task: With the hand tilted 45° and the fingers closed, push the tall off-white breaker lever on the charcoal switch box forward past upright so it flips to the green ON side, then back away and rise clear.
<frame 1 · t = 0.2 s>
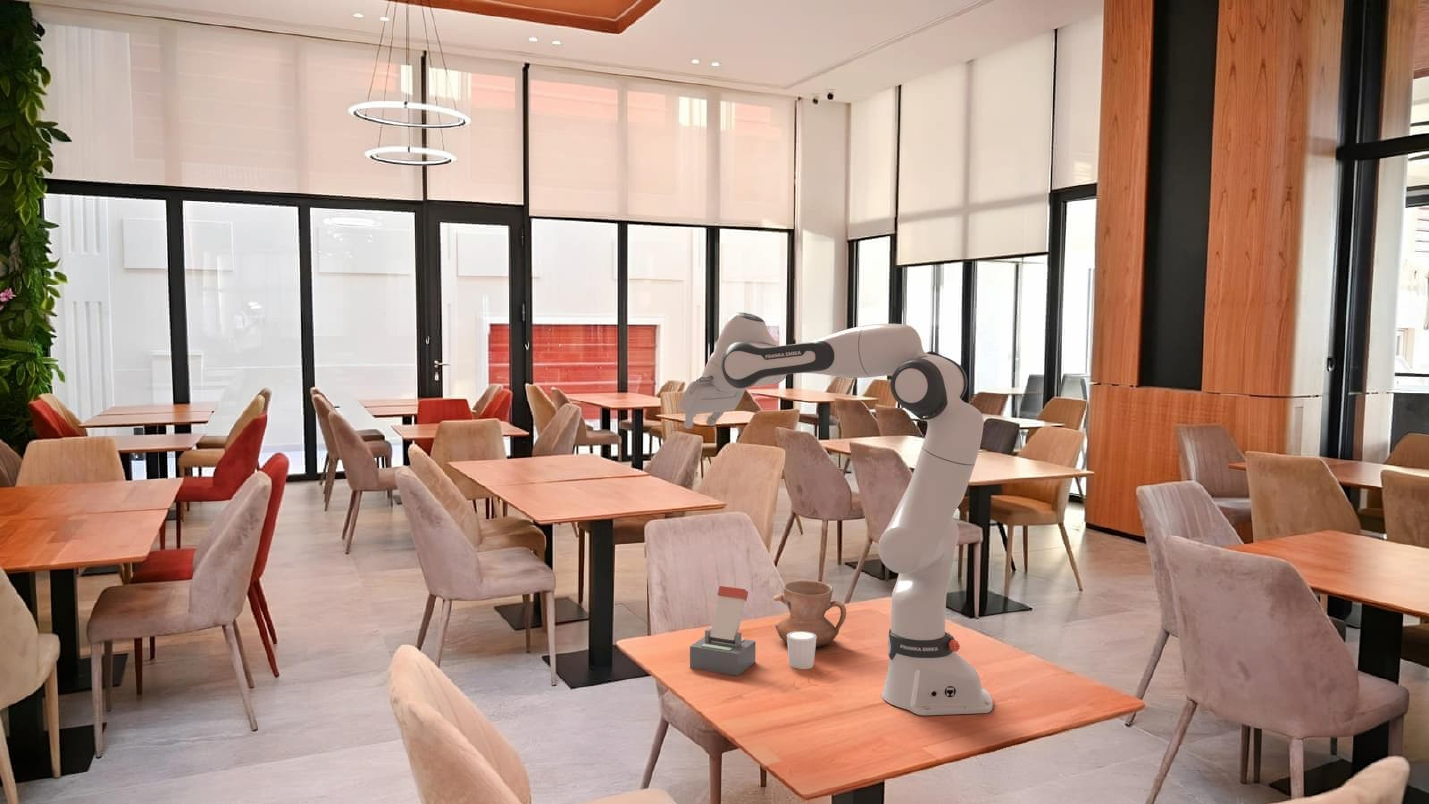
hand: (698, 426, 229), 54 cm above the table, tool tilted 30°, fingers open, 8 cm apart
shot glass: (801, 665, 222), on the table
switch box: (722, 664, 221), on the table
ceramic jug: (809, 643, 237), on the table
breaker lever: (728, 615, 223), point 11 cm above the table, hinge at -30.0°
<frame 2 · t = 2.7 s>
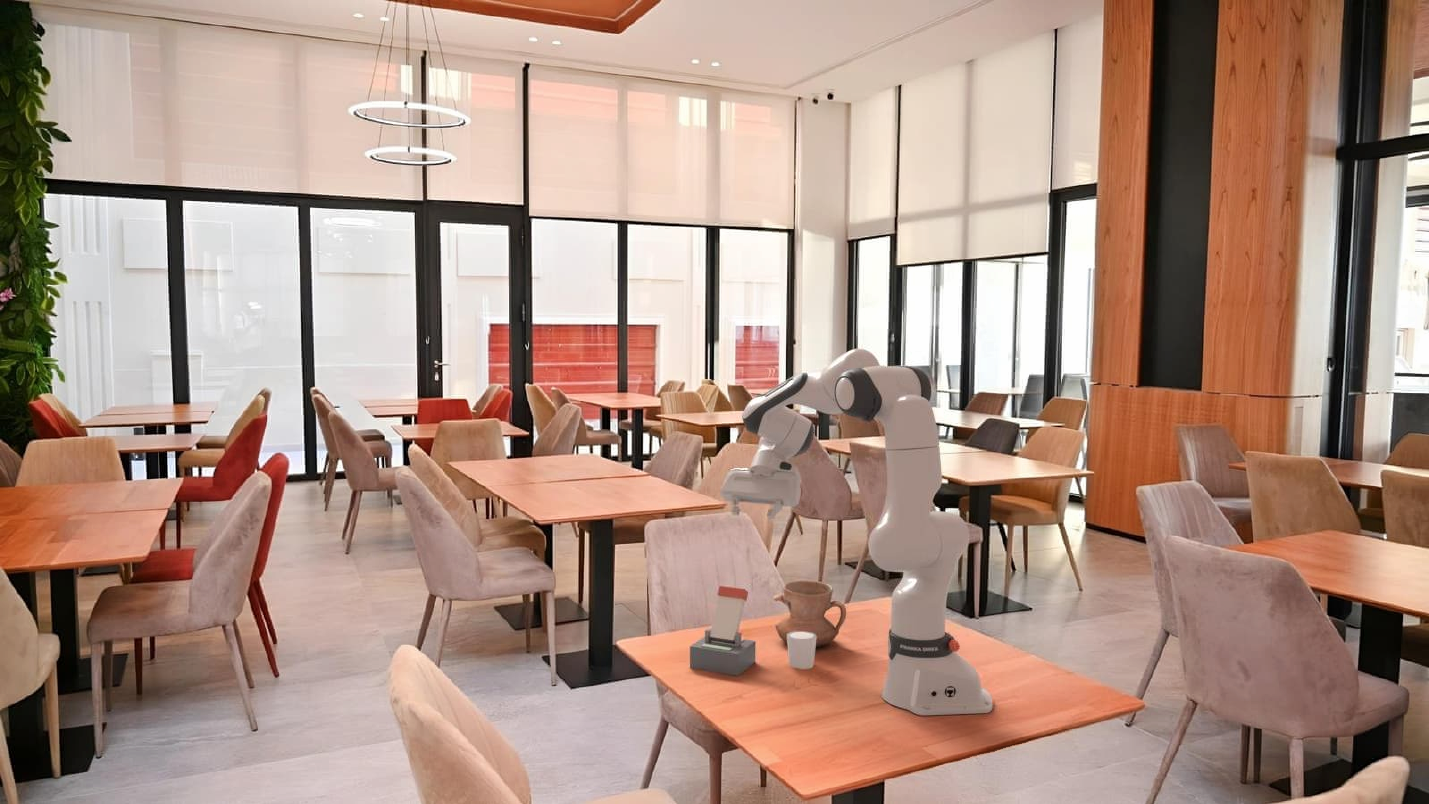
hand: (752, 515, 236), 32 cm above the table, tool tilted 45°, fingers open, 8 cm apart
nothing on the table moved.
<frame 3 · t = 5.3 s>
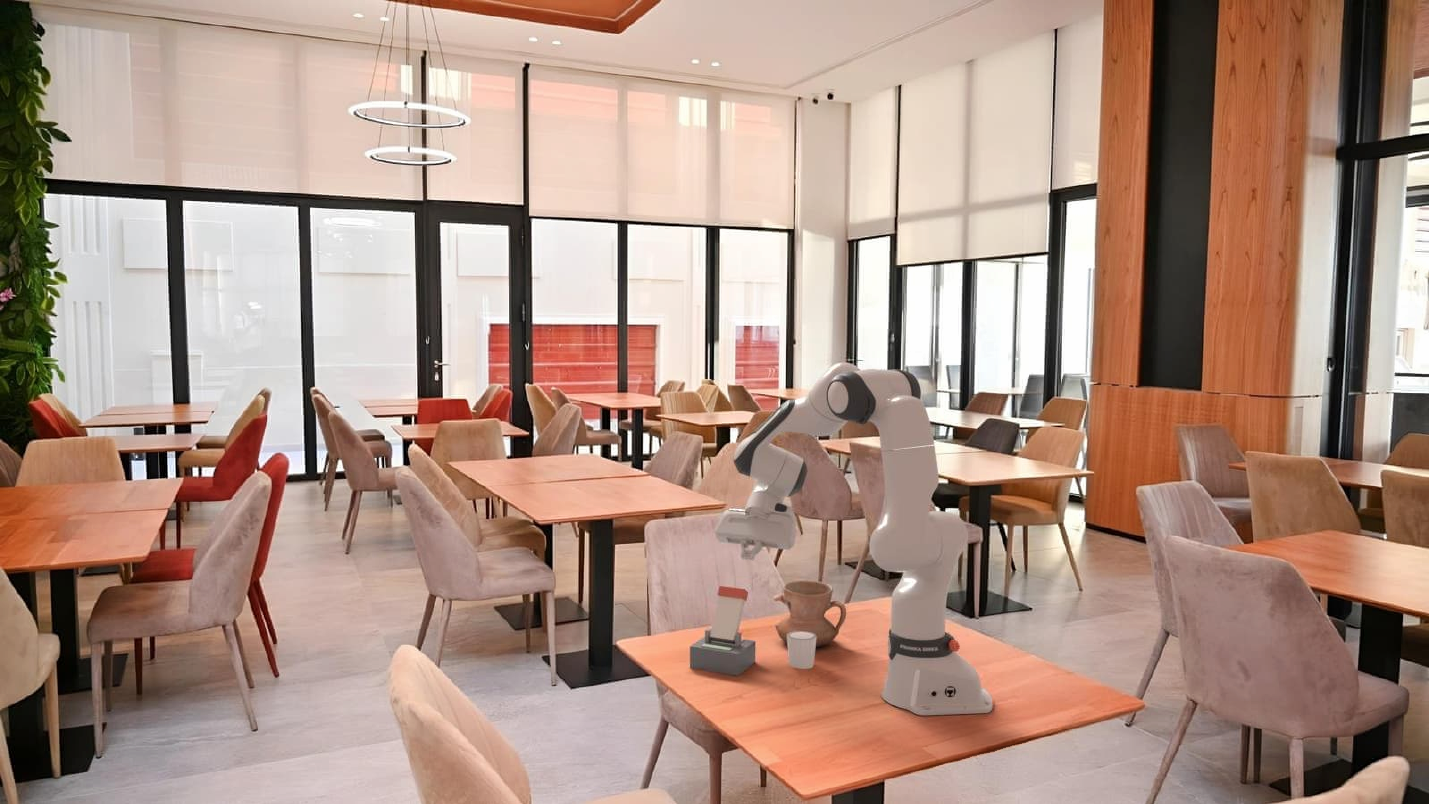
hand: (746, 558, 232), 22 cm above the table, tool tilted 45°, fingers closed
nothing on the table moved.
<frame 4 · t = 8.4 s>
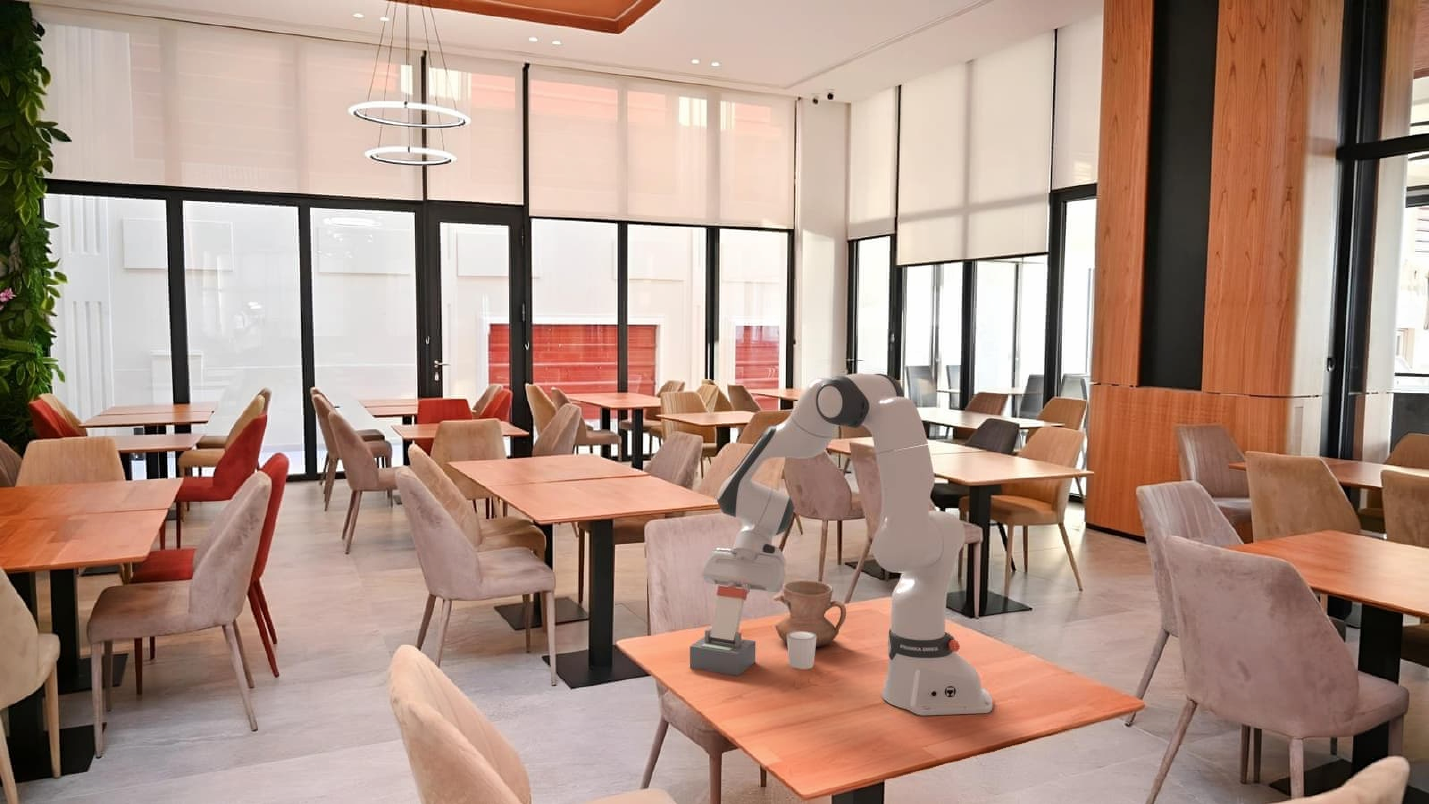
hand: (733, 602, 226), 13 cm above the table, tool tilted 45°, fingers closed, pressing on breaker lever
breaker lever: (727, 615, 223), point 11 cm above the table, hinge at -27.5°, touching gripper
everything else where it was.
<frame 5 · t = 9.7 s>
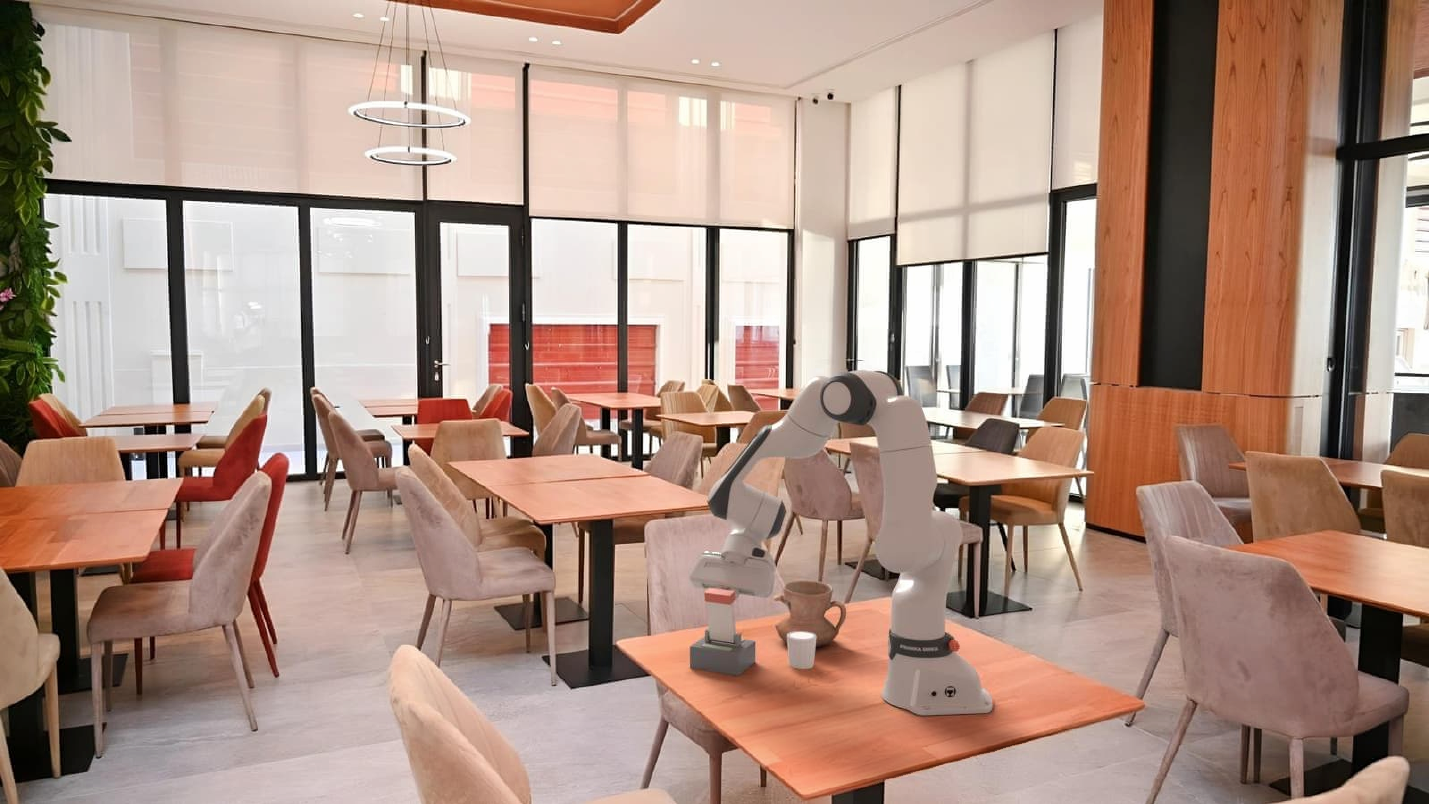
hand: (721, 607, 220), 14 cm above the table, tool tilted 45°, fingers closed, pressing on breaker lever
breaker lever: (721, 617, 219), point 12 cm above the table, hinge at 10.7°, touching gripper
everything else where it was.
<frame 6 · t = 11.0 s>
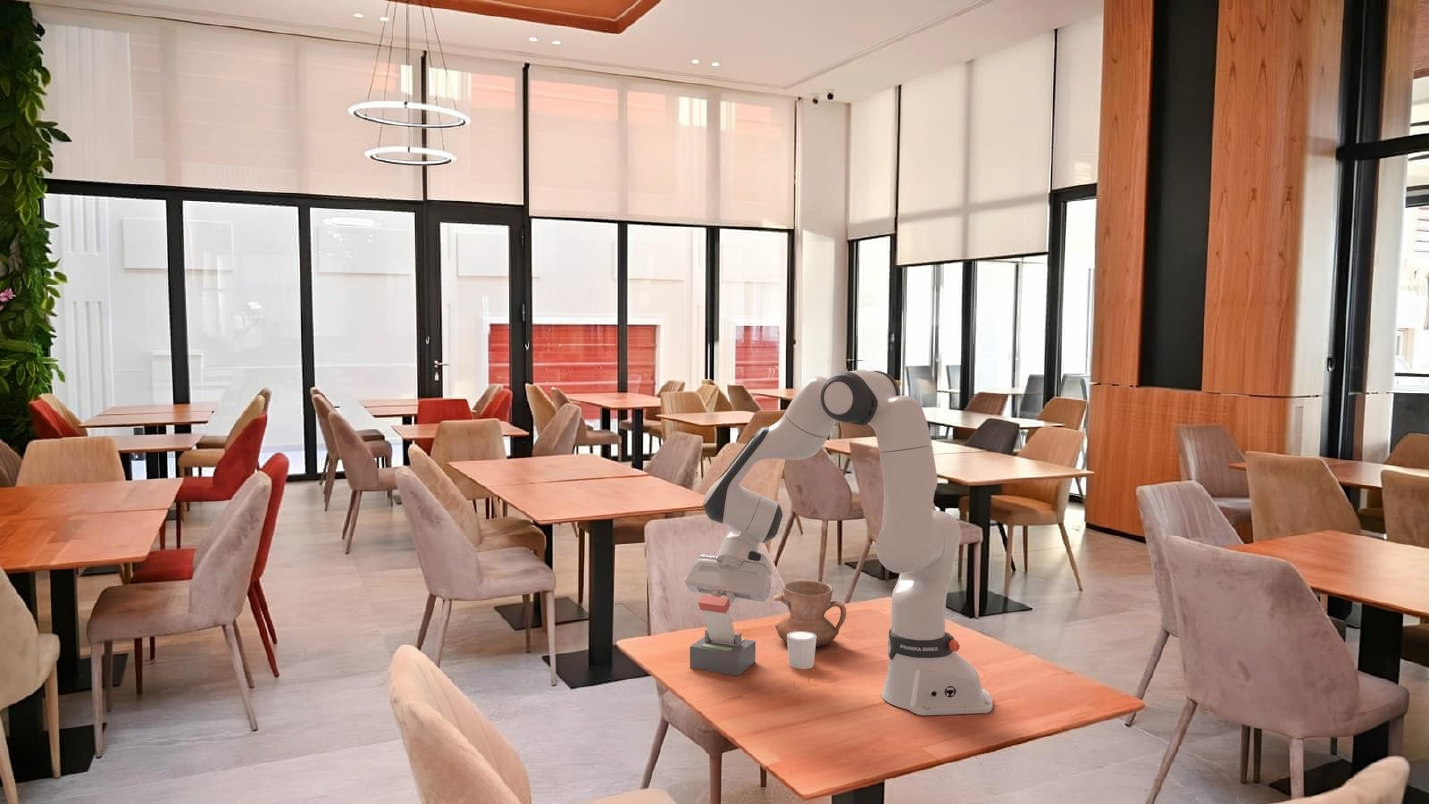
hand: (717, 611, 218), 13 cm above the table, tool tilted 45°, fingers closed, pressing on breaker lever
breaker lever: (718, 621, 218), point 11 cm above the table, hinge at 27.5°, touching gripper
everything else where it was.
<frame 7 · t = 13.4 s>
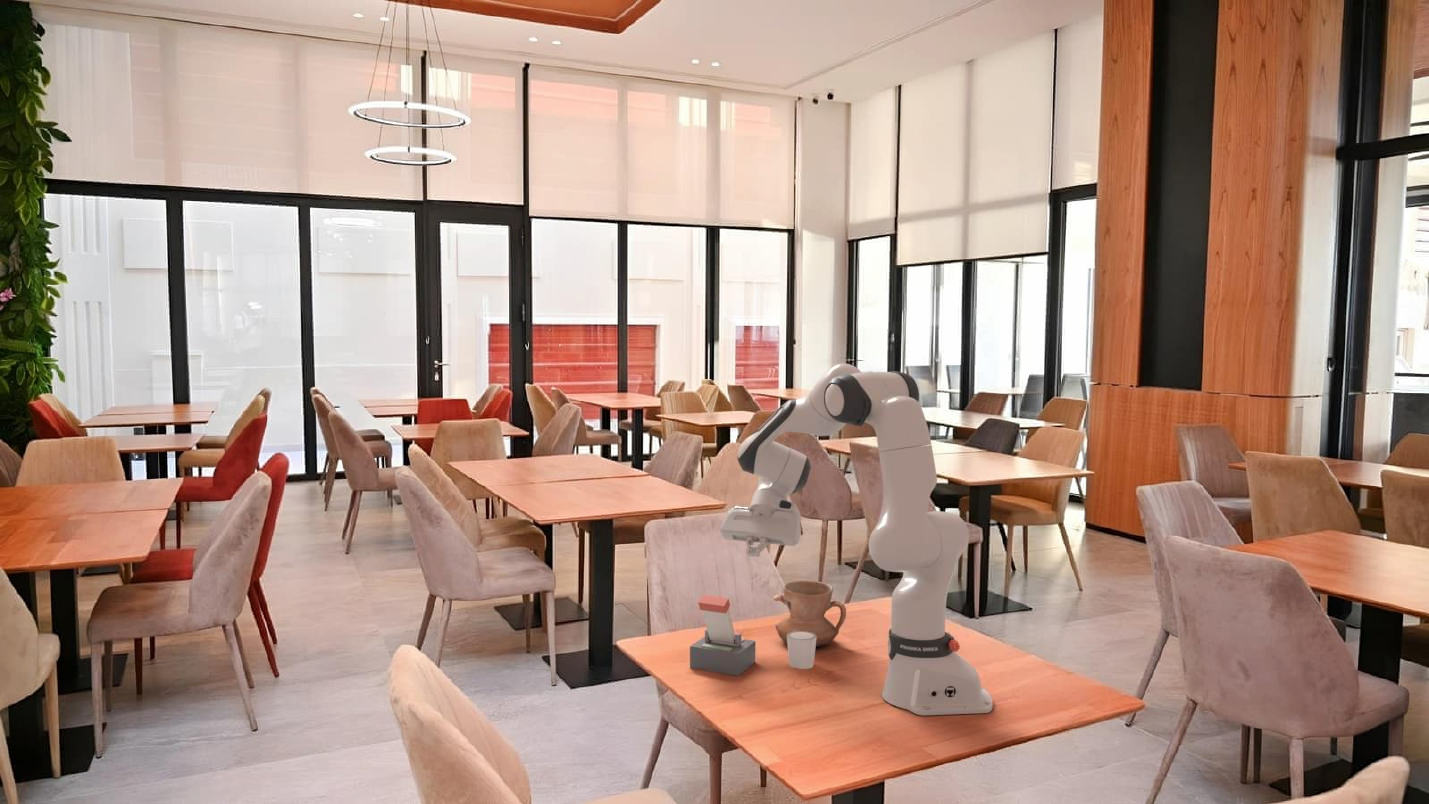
hand: (752, 555, 235), 22 cm above the table, tool tilted 45°, fingers closed
breaker lever: (718, 621, 218), point 11 cm above the table, hinge at 27.6°
everything else where it was.
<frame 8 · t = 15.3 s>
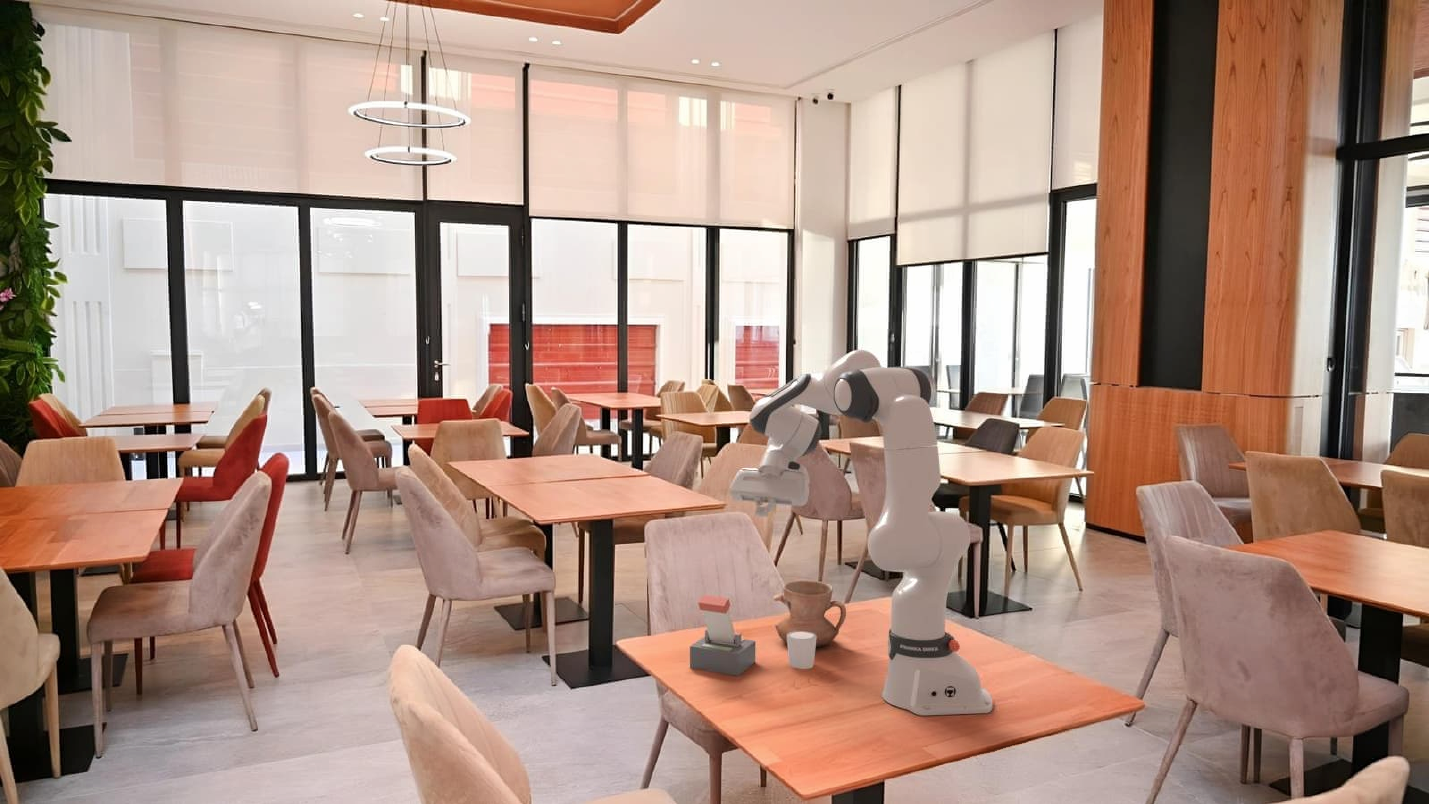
hand: (761, 515, 237), 31 cm above the table, tool tilted 45°, fingers closed
nothing on the table moved.
at the end: breaker lever at +28° (first picture: -30°); shot glass moved 0.2 cm from its start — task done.
